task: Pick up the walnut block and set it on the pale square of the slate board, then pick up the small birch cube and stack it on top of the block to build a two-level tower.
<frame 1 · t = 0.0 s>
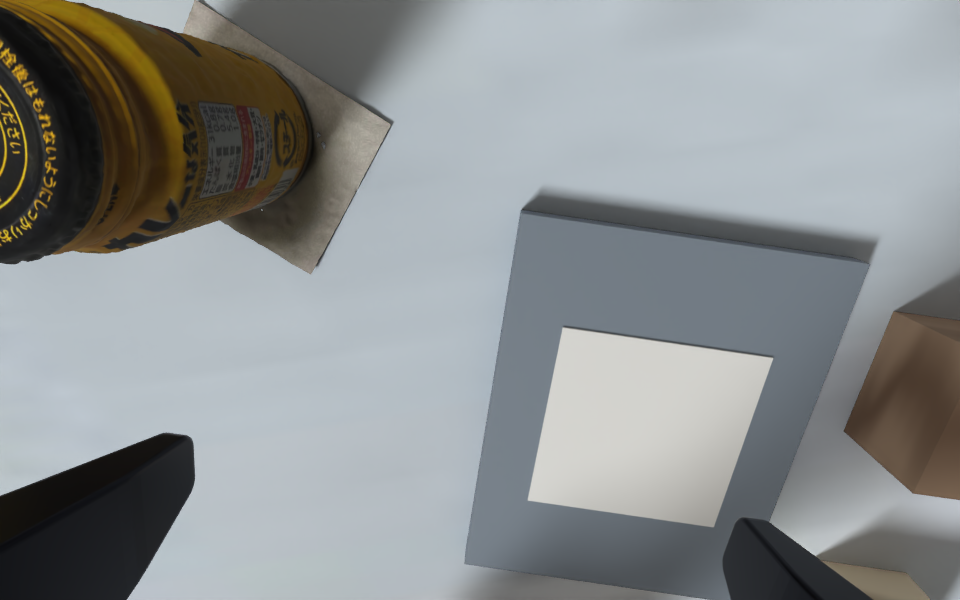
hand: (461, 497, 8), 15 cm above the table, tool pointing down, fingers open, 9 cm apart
walnut block: (941, 382, 23), on the table
condiment: (262, 146, 21), on the table
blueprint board: (637, 420, 24), on the table
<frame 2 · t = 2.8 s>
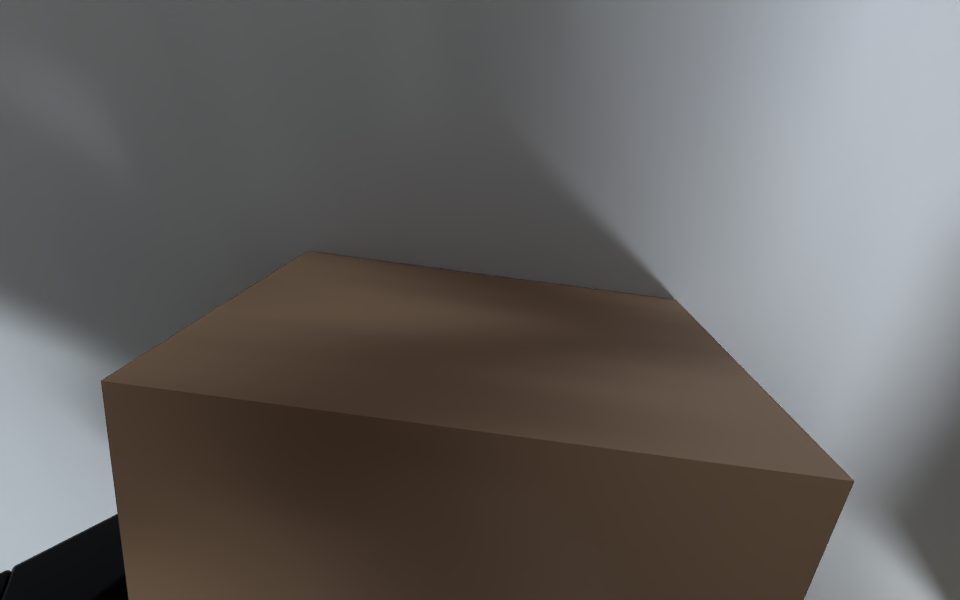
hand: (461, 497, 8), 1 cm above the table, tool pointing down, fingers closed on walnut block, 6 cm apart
walnut block: (466, 458, 9), on the table, touching gripper
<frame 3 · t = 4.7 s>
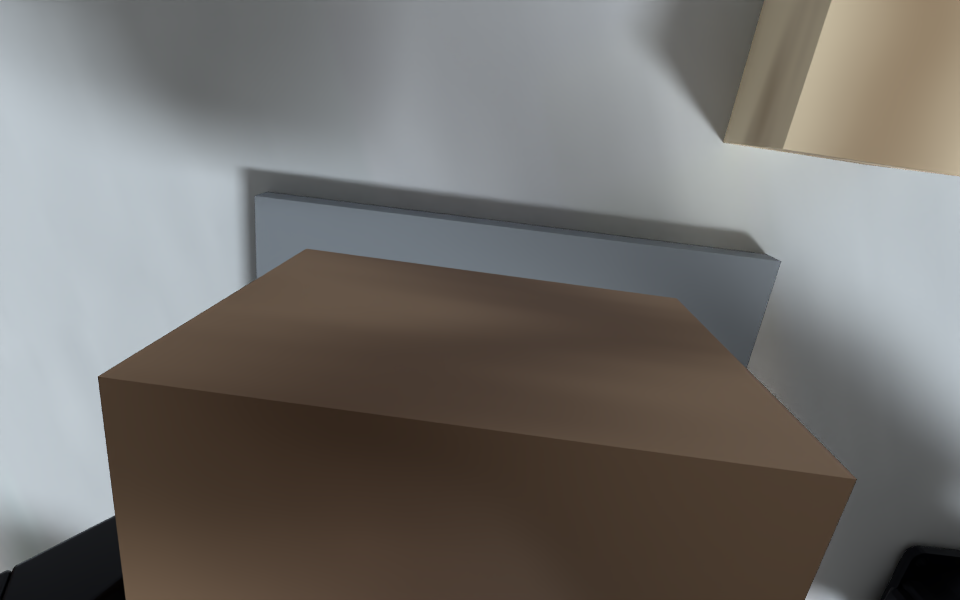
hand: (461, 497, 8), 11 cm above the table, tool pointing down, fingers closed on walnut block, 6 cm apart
walnut block: (465, 456, 9), point 10 cm above the table, touching gripper
birch cube: (819, 74, 17), on the table
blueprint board: (493, 394, 21), on the table
when the fingers open (4 cm above the table, at t = 7.0 s): walnut block drops 2 cm, resting on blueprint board.
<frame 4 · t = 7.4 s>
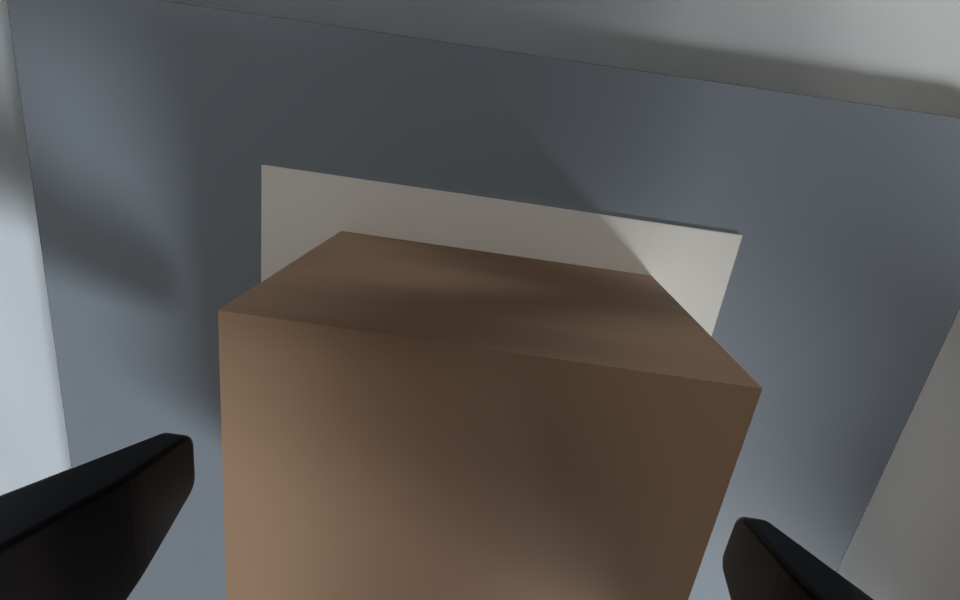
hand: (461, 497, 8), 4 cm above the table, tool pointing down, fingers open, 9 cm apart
walnut block: (472, 411, 11), point 1 cm above the table, touching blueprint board
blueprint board: (473, 386, 12), on the table
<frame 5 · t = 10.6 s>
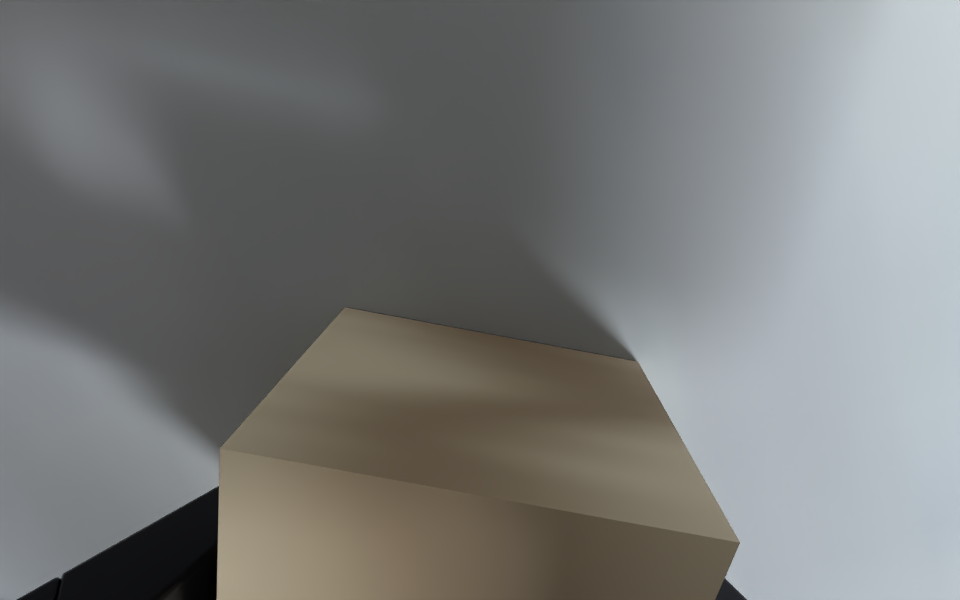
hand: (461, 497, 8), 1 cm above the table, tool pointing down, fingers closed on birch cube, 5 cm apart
birch cube: (466, 458, 9), on the table, touching gripper
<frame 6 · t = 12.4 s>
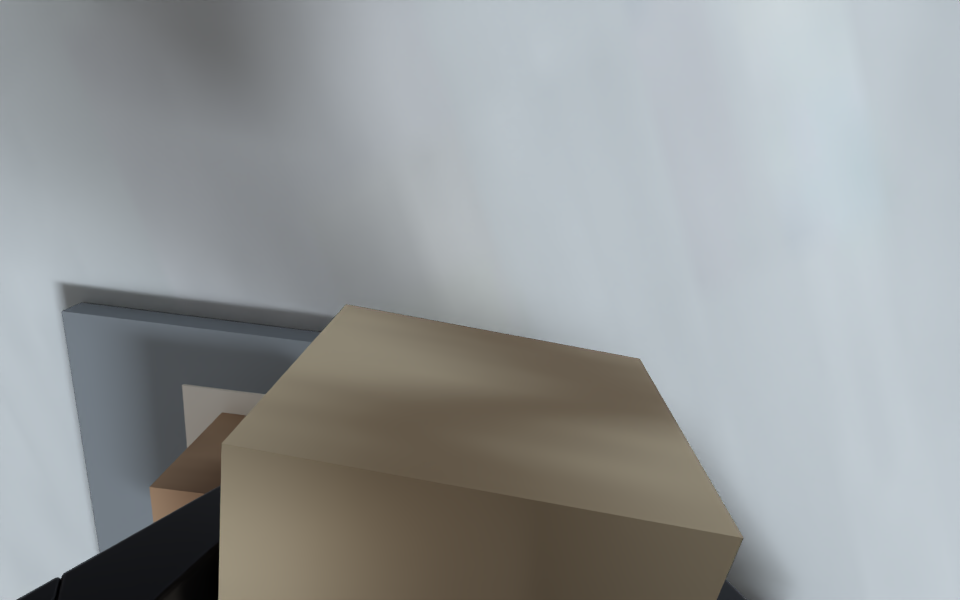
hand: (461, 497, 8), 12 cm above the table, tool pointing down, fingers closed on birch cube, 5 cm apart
walnut block: (296, 493, 22), point 1 cm above the table, touching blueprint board
birch cube: (468, 456, 9), point 11 cm above the table, touching gripper
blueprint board: (304, 476, 23), on the table
when the fingers open (8 cm above the table, at t = 14.2 s): birch cube drops 1 cm, resting on walnut block.
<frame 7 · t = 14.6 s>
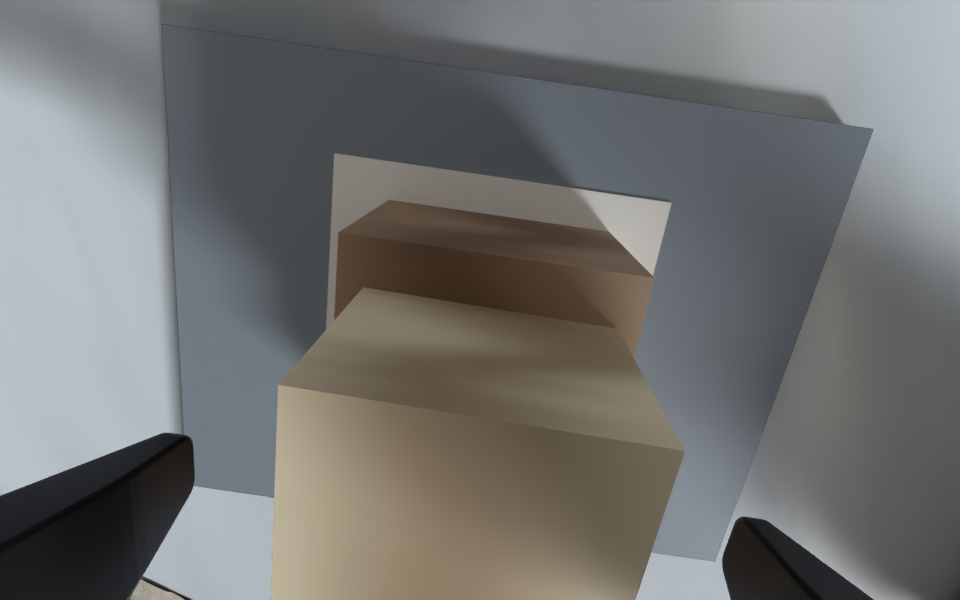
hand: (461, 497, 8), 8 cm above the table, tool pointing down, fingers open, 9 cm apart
walnut block: (481, 334, 15), point 1 cm above the table, touching birch cube, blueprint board
birch cube: (471, 418, 11), point 6 cm above the table, touching walnut block
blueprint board: (481, 320, 16), on the table
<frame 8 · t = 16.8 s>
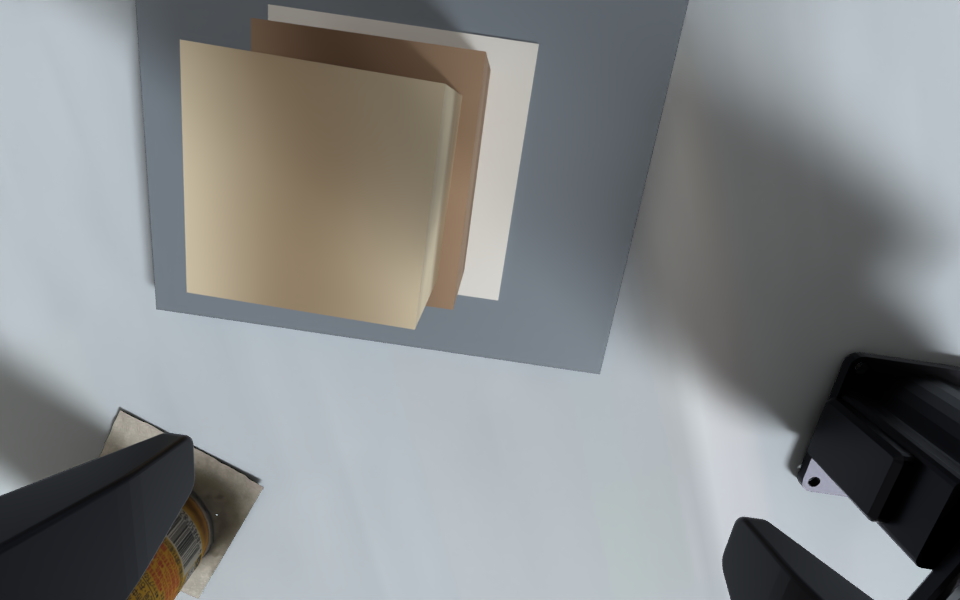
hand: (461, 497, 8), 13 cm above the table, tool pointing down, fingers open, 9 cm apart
walnut block: (393, 164, 18), point 1 cm above the table, touching birch cube, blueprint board
condiment: (167, 505, 26), on the table
birch cube: (359, 177, 14), point 6 cm above the table, touching walnut block
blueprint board: (398, 161, 20), on the table
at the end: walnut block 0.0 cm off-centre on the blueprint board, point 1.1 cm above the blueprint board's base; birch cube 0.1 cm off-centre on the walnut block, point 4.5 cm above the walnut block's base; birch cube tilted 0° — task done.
